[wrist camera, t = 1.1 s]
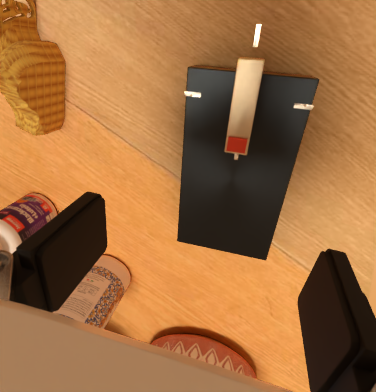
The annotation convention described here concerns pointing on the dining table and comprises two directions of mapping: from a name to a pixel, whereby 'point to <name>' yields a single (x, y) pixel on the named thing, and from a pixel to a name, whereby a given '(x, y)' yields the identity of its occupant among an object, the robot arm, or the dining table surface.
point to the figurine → (30, 71)
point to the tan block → (243, 104)
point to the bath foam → (97, 293)
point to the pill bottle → (24, 220)
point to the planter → (205, 351)
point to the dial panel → (239, 159)
